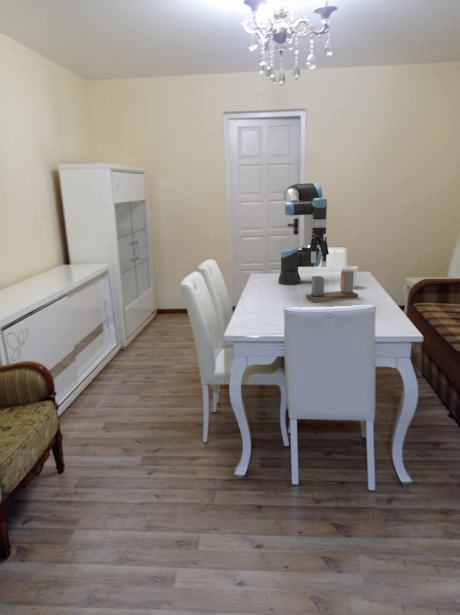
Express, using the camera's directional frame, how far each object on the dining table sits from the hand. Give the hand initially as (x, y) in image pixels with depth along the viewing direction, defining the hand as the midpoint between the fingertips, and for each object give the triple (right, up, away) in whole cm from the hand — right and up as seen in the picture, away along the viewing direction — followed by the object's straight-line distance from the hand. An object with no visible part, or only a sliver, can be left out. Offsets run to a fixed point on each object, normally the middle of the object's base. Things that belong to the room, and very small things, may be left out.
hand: (318, 264), depth 244 cm
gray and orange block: (+1, -19, +6) cm, 20 cm away
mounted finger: (+18, -16, +9) cm, 25 cm away
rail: (+9, -19, +8) cm, 22 cm away
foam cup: (+26, -11, +32) cm, 43 cm away
